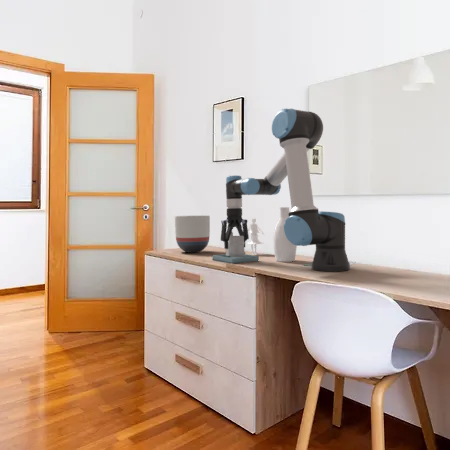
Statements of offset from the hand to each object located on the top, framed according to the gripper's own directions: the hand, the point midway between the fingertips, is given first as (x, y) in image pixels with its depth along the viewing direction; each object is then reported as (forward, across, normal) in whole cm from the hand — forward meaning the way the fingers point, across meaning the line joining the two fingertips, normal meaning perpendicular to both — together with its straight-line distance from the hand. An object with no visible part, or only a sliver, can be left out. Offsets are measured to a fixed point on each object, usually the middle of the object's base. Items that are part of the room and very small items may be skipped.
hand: (235, 254), depth 205 cm
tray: (+3, 0, 0) cm, 3 cm away
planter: (+3, -3, -50) cm, 50 cm away
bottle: (+3, -18, +16) cm, 24 cm away
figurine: (+3, -23, -15) cm, 28 cm away
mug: (+1, 0, 0) cm, 1 cm away
